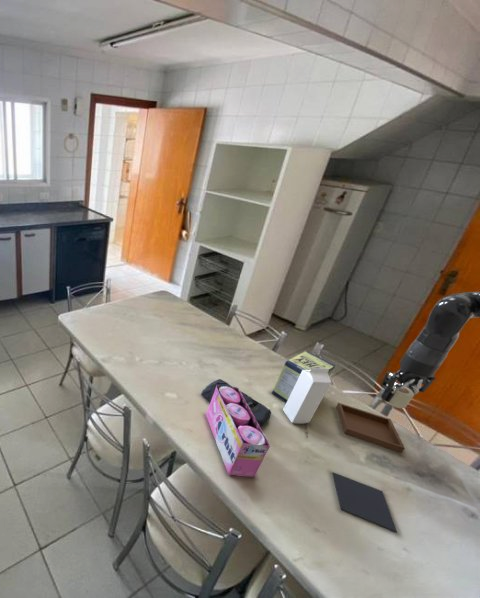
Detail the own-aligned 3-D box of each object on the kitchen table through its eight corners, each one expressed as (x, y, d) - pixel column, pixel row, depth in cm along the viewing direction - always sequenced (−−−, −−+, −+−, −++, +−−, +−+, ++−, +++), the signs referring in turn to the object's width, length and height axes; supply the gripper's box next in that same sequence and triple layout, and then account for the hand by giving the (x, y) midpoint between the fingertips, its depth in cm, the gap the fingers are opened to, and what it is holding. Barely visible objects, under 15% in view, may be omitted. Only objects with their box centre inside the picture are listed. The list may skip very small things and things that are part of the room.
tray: (386, 425, 116) (390, 419, 115) (400, 454, 105) (405, 448, 104) (334, 408, 122) (338, 402, 120) (342, 434, 111) (346, 428, 109)
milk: (282, 410, 119) (305, 361, 109) (298, 411, 119) (323, 362, 109) (292, 423, 114) (317, 373, 104) (309, 424, 114) (335, 374, 104)
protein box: (318, 397, 127) (336, 365, 120) (298, 411, 119) (315, 378, 112) (291, 380, 134) (306, 349, 127) (270, 393, 127) (285, 361, 120)
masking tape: (401, 399, 104) (410, 386, 102) (408, 411, 99) (417, 399, 97) (378, 392, 106) (386, 380, 104) (384, 403, 101) (392, 391, 99)
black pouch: (220, 380, 132) (223, 370, 129) (274, 416, 116) (279, 406, 114) (196, 394, 123) (199, 384, 121) (252, 435, 108) (257, 425, 106)
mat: (381, 492, 93) (382, 491, 93) (396, 532, 83) (397, 531, 83) (332, 473, 97) (332, 472, 97) (340, 509, 88) (341, 508, 87)
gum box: (203, 412, 115) (213, 382, 109) (226, 413, 115) (237, 384, 109) (228, 475, 94) (242, 443, 88) (255, 477, 94) (272, 445, 88)
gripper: (413, 364, 91) (383, 409, 98) (460, 365, 92) (427, 409, 100) (389, 348, 97) (363, 391, 105) (433, 349, 99) (404, 391, 106)
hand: (394, 399), depth 102 cm, fingers closed on masking tape, 6 cm apart
